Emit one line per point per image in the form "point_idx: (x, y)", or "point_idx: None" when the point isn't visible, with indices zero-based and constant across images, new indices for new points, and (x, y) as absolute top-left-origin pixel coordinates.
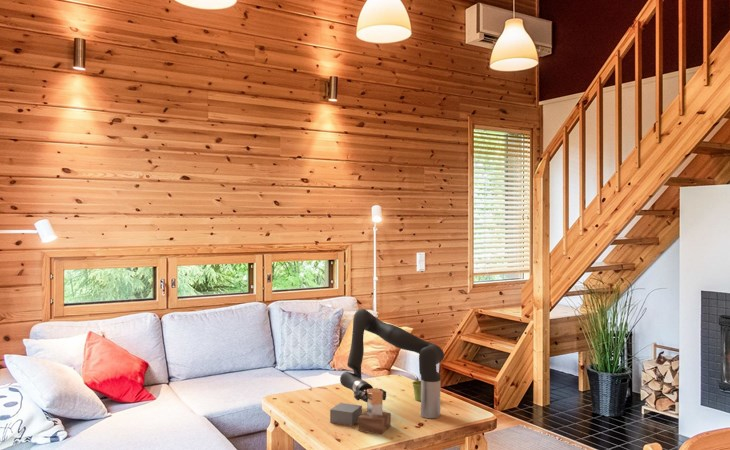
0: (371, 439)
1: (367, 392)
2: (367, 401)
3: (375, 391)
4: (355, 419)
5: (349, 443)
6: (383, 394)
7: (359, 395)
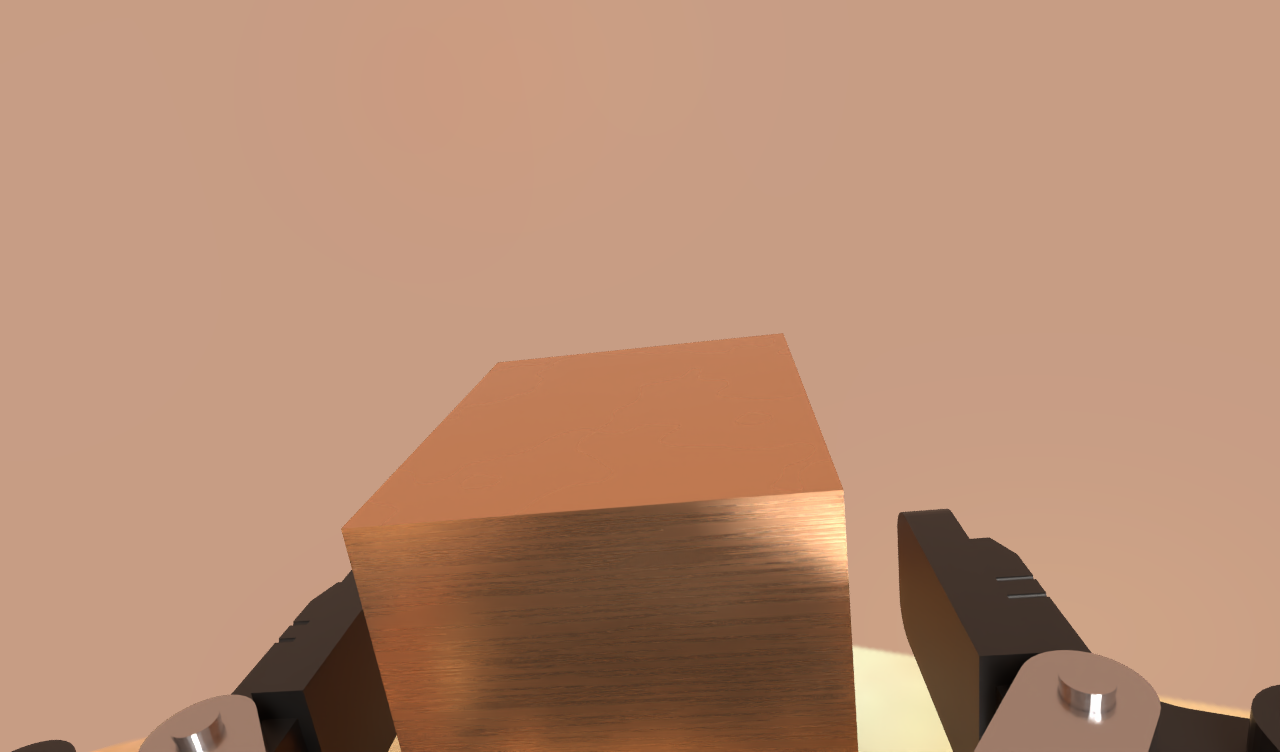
0: (905, 740)
1: (842, 596)
2: (905, 597)
3: (653, 366)
4: None
5: (1210, 705)
6: (338, 600)
7: (1249, 735)
